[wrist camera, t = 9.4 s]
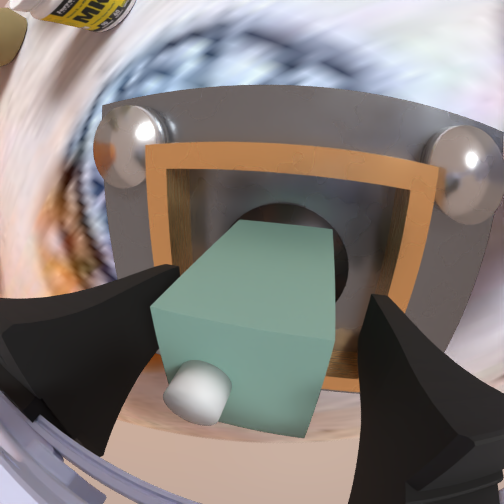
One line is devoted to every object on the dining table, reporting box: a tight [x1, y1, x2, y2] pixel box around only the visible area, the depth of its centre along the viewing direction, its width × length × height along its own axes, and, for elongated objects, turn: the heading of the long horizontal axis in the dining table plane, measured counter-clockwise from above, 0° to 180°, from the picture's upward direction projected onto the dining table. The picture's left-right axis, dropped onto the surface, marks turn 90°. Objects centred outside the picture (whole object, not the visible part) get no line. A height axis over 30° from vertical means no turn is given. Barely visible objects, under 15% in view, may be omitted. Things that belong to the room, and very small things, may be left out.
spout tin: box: [150, 220, 335, 438], centre depth 9 cm, size 4×4×8 cm
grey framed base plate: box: [93, 85, 504, 394], centre depth 13 cm, size 20×16×5 cm
